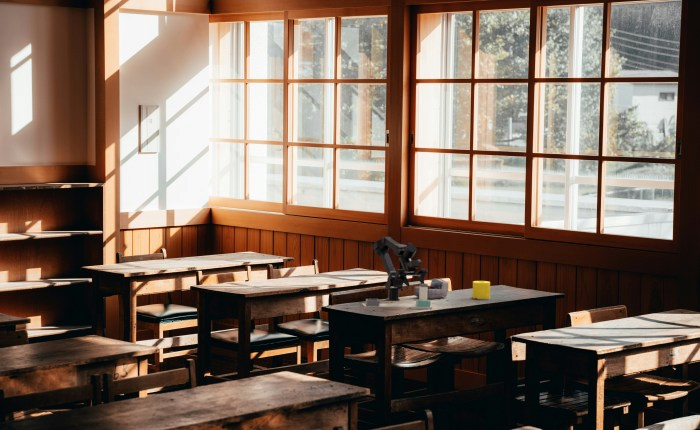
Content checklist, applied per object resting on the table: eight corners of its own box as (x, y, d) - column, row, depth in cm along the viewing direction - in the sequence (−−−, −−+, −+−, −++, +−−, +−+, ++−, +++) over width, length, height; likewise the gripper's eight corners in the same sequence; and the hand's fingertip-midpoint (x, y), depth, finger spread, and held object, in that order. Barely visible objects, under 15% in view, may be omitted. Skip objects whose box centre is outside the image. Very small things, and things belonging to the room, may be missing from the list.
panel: (362, 305, 581) (362, 297, 580) (429, 305, 584) (429, 298, 583) (364, 308, 569) (364, 300, 568) (432, 308, 572) (432, 301, 571)
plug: (419, 305, 576) (419, 283, 575) (424, 305, 577) (424, 283, 577) (422, 306, 573) (422, 284, 572) (427, 306, 574) (427, 284, 574)
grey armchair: (451, 279, 617) (426, 282, 605) (451, 297, 618) (426, 301, 605) (435, 277, 627) (410, 279, 615) (435, 295, 628) (410, 298, 615)
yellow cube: (491, 297, 623) (492, 281, 622) (486, 299, 614) (487, 283, 613) (475, 296, 627) (476, 280, 626) (470, 298, 618) (470, 282, 617)
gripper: (397, 254, 581) (407, 277, 572) (427, 254, 589) (436, 276, 580) (390, 267, 588) (399, 289, 579) (419, 266, 597) (428, 288, 588)
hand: (416, 285), depth 581 cm, fingers open, 9 cm apart
